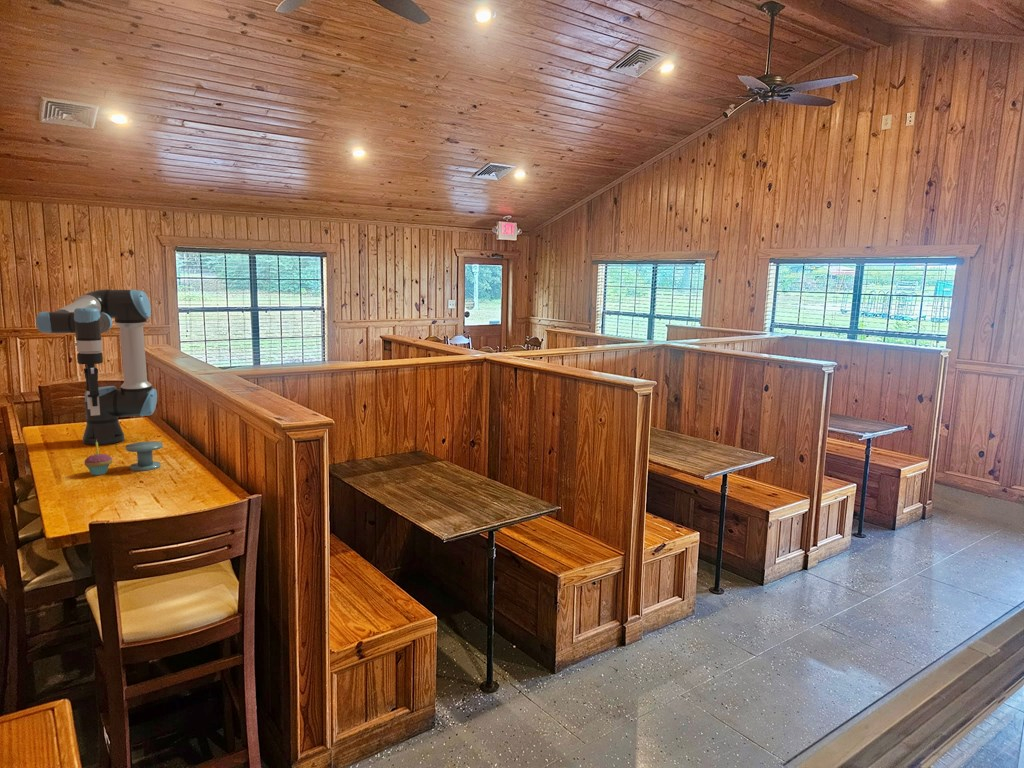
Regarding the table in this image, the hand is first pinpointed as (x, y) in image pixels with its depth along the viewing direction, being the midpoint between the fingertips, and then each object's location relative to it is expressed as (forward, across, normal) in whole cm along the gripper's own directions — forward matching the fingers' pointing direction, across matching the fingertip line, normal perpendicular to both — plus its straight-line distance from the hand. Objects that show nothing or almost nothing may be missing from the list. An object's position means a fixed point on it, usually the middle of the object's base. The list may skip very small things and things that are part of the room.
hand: (93, 412), depth 230 cm
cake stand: (+22, 0, +15) cm, 27 cm away
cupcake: (+23, 0, 0) cm, 23 cm away
